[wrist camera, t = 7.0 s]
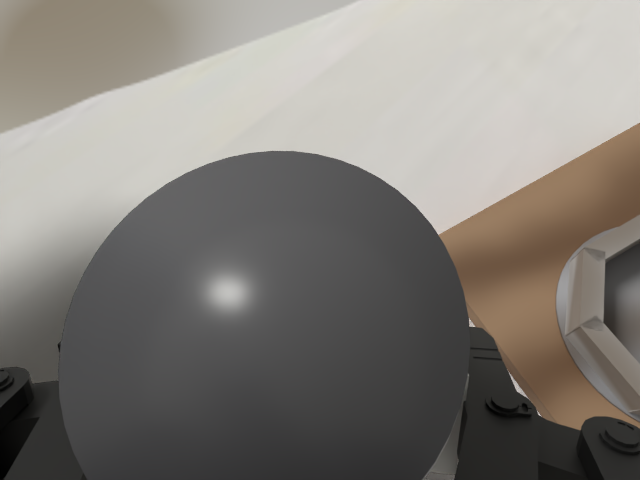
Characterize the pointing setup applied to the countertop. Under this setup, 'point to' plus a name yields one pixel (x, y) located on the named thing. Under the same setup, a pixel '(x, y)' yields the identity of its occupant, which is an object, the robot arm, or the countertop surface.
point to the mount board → (563, 283)
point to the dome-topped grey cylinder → (266, 331)
